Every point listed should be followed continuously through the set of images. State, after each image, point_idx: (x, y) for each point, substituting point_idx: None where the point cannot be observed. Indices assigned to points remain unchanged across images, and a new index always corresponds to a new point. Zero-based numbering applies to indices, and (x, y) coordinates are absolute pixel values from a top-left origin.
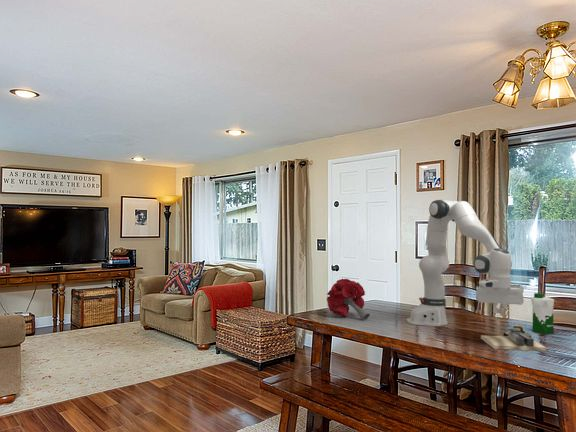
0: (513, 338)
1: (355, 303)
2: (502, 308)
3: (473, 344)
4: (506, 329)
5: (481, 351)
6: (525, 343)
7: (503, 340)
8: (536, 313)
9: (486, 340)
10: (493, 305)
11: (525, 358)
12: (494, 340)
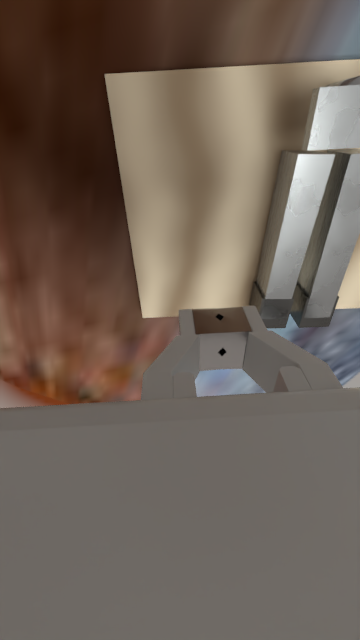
0: (268, 249)
1: None
2: (254, 380)
3: (58, 257)
4: (311, 100)
5: (88, 349)
6: (293, 293)
7: (222, 211)
8: None
9: (127, 210)
10: (151, 373)
11: (214, 387)
12: (168, 224)
